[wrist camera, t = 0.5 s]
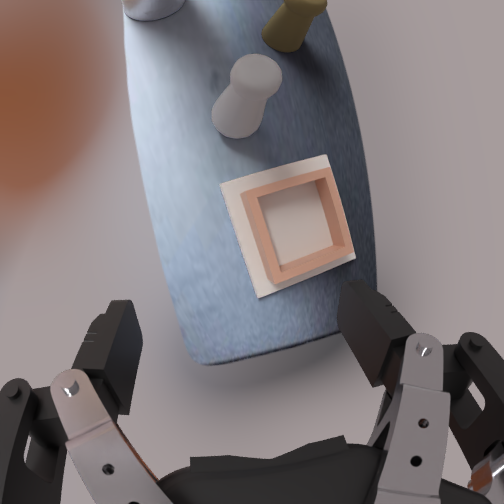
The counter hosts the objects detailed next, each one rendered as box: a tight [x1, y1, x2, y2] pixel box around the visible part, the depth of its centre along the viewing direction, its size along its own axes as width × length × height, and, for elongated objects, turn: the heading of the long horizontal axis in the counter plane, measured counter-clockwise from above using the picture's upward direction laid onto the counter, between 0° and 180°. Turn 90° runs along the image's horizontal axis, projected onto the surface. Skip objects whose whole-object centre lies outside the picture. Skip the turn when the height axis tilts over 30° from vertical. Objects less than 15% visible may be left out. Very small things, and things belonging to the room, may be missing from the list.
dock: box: [219, 155, 356, 298], centre depth 33 cm, size 14×14×4 cm
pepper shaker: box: [261, 0, 327, 52], centre depth 27 cm, size 6×6×11 cm
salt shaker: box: [211, 54, 282, 139], centre depth 26 cm, size 6×6×13 cm
